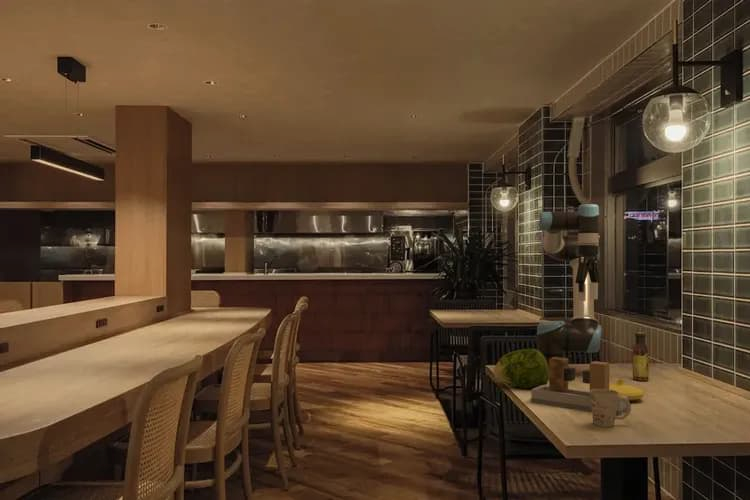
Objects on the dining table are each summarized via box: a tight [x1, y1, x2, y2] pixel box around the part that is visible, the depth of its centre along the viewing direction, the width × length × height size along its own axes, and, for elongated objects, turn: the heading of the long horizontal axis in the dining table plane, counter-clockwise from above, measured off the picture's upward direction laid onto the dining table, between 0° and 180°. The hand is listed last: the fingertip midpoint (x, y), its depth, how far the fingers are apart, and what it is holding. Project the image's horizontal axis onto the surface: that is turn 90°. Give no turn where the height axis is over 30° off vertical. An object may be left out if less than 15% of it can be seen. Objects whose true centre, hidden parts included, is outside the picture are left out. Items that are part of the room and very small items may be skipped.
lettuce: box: [493, 348, 549, 389], centre depth 250 cm, size 16×21×15 cm
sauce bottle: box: [632, 332, 650, 382], centre depth 267 cm, size 6×6×20 cm
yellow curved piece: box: [609, 378, 645, 402], centre depth 230 cm, size 16×16×7 cm
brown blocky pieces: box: [530, 360, 628, 416], centre depth 218 cm, size 30×10×16 cm, turn 53°
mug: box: [588, 389, 632, 428], centre depth 194 cm, size 8×13×10 cm, turn 95°
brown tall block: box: [548, 357, 576, 393], centre depth 222 cm, size 8×5×14 cm, turn 54°
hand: (587, 300), depth 244 cm, fingers open, 13 cm apart
